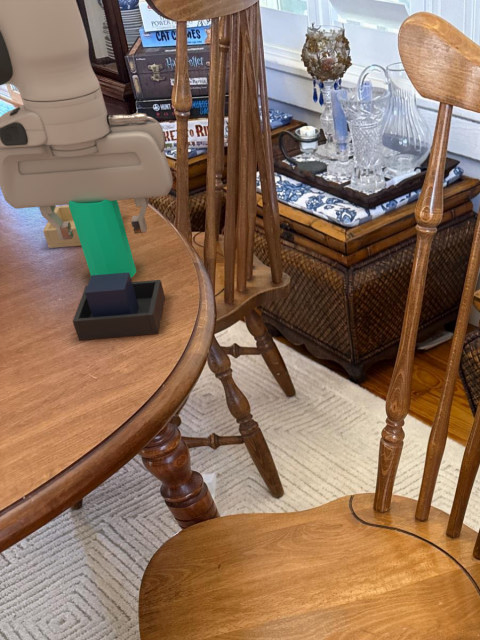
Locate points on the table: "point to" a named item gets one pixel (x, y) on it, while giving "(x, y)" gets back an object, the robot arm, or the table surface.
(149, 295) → the slate tray
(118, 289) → the navy block
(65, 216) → the cream tray
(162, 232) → the table surface
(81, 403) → the table surface
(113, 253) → the candle
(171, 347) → the table surface
